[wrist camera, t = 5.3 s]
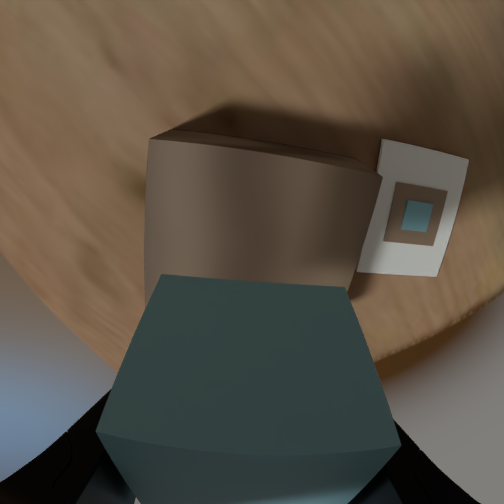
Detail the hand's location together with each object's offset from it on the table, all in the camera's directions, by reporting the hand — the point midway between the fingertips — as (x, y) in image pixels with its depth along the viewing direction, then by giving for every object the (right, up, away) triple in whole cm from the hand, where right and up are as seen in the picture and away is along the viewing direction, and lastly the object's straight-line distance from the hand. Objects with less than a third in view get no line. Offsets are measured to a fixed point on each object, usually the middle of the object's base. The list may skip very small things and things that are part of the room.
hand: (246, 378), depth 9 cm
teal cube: (0, +1, +1) cm, 1 cm away
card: (+10, +6, +9) cm, 14 cm away
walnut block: (0, +5, +10) cm, 11 cm away
